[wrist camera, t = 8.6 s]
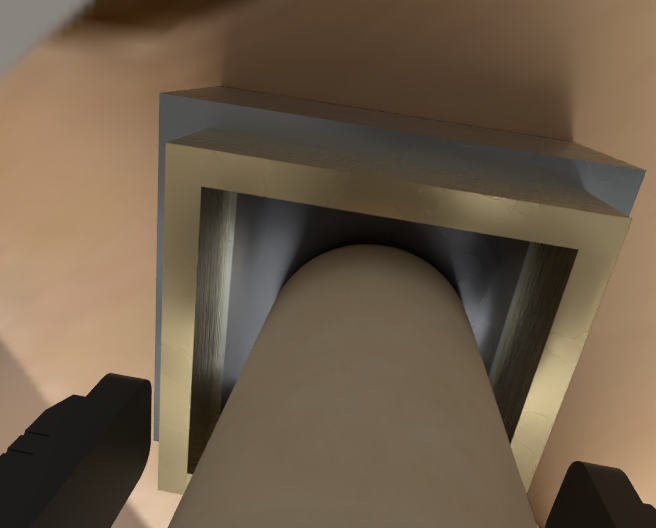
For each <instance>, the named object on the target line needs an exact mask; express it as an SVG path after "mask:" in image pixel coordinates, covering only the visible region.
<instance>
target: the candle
mask: <svg viewBox="0 0 656 528" xmlns="http://www.w3.org/2000/svg"><path fill="white" fill-rule="evenodd" d="M168 528H537V525H536V522H535V519H534V516H533V513H532V510H531V507H530V503H529V500H528V497H527V494H526V491H525V488H524V485H523V482H522V479H521V476H520V473H519V470H518V467H517V464H516V461H515V458H514V455H513V452H512V449H511V446H510V443H509V440H508V436H507V433H506V430H505V427H504V424H503V421H502V418H501V415H500V412H499V409H498V406H497V403H496V400H495V397H494V394H493V391H492V388H491V385H490V382H489V379H488V376H487V373H486V369H485V366H484V363H483V360H482V357H481V354H480V351H479V348H478V345H477V342H476V339H475V336H474V333H473V330H472V327H471V324H470V322H469V319H468V316H467V314H466V311H465V309H464V306H463V303H462V301H461V300H460V298H459V296H458V294H457V293H456V291H455V290H454V288H453V287H452V286H451V284H450V283H449V282H448V281H447V279H446V278H445V277H444V276H443V275H442V274H441V273H440V272H439V271H438V270H437V269H436V268H434V267H433V266H432V265H430V264H429V263H428V262H426V261H425V260H423V259H421V258H419V257H418V256H416V255H414V254H412V253H409V252H407V251H404V250H402V249H398V248H394V247H391V246H385V245H378V244H356V245H348V246H344V247H340V248H336V249H333V250H330V251H328V252H325V253H323V254H321V255H319V256H317V257H315V258H313V259H312V260H310V261H309V262H308V263H306V264H305V265H303V266H302V267H301V268H300V269H299V270H298V271H297V272H296V273H295V274H294V275H293V276H292V277H291V278H290V279H289V280H288V281H287V283H286V284H285V285H284V286H283V288H282V289H281V291H280V293H279V295H278V296H277V298H276V300H275V302H274V304H273V306H272V308H271V310H270V312H269V314H268V316H267V318H266V320H265V322H264V324H263V326H262V329H261V331H260V333H259V335H258V337H257V339H256V341H255V343H254V346H253V348H252V350H251V352H250V354H249V356H248V358H247V360H246V363H245V365H244V367H243V369H242V371H241V373H240V375H239V377H238V380H237V382H236V384H235V386H234V388H233V390H232V392H231V394H230V397H229V399H228V401H227V403H226V405H225V407H224V409H223V411H222V414H221V416H220V418H219V420H218V422H217V424H216V426H215V428H214V431H213V433H212V435H211V437H210V439H209V441H208V443H207V445H206V448H205V450H204V452H203V454H202V456H201V458H200V460H199V462H198V465H197V467H196V469H195V471H194V473H193V475H192V477H191V479H190V482H189V484H188V486H187V488H186V490H185V492H184V494H183V496H182V499H181V501H180V503H179V505H178V507H177V509H176V511H175V513H174V516H173V518H172V520H171V522H170V524H169V526H168Z"/></svg>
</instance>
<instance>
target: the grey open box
mask: <svg viewBox="0 0 656 528" xmlns="http://www.w3.org/2000/svg"><path fill="white" fill-rule="evenodd" d="M645 172H646V170H643V169H641V168H638V167H636V166H633V165H631V164H628V163H626V162H623V161H621V160H618V159H615V158H613V157H610V156H608V155H605V154H603V153H600V152H598V151H595V150H593V149H590V148H588V147H585V146H582V145H580V144H577V143H575V142H570V141H564V140H557V139H551V138H545V137H538V136H532V135H526V134H519V133H513V132H507V131H500V130H494V129H488V128H481V127H475V126H469V125H463V124H456V123H450V122H444V121H437V120H431V119H425V118H418V117H412V116H406V115H399V114H393V113H387V112H380V111H374V110H368V109H361V108H355V107H349V106H342V105H336V104H330V103H323V102H317V101H311V100H304V99H298V98H292V97H285V96H279V95H273V94H266V93H260V92H254V91H247V90H241V89H235V88H228V87H222V86H217V87H208V88H199V89H190V90H182V91H173V92H164V93H160V105H159V162H158V220H157V277H156V334H155V391H154V441H159V463H158V490H161V491H166V492H172V493H177V494H182V495H183V494H184V492H185V490H186V488H187V486H188V484H189V482H190V479H191V477H192V475H193V473H194V471H195V469H196V467H197V465H198V462H199V460H200V458H201V456H202V454H203V452H204V450H205V448H206V445H207V443H208V441H209V439H210V437H211V435H212V433H213V431H214V428H215V426H216V424H217V422H218V420H219V418H220V416H221V414H222V411H223V409H224V407H225V405H226V403H227V401H228V399H229V397H230V394H231V392H232V390H233V388H234V386H235V384H236V382H237V380H238V377H239V375H240V373H241V371H242V369H243V367H244V365H245V363H246V360H247V358H248V356H249V354H250V352H251V350H252V348H253V346H254V343H255V341H256V339H257V337H258V335H259V333H260V331H261V329H262V326H263V324H264V322H265V320H266V318H267V316H268V314H269V312H270V310H271V308H272V306H273V304H274V302H275V300H276V298H277V296H278V295H279V293H280V291H281V289H282V288H283V286H284V285H285V284H286V283H287V281H288V280H289V279H290V278H291V277H292V276H293V275H294V274H295V273H296V272H297V271H298V270H299V269H300V268H301V267H302V266H303V265H305V264H306V263H308V262H309V261H310V260H312V259H313V258H315V257H317V256H319V255H321V254H323V253H325V252H328V251H330V250H333V249H336V248H340V247H344V246H348V245H356V244H378V245H385V246H391V247H394V248H398V249H402V250H404V251H407V252H409V253H412V254H414V255H416V256H418V257H419V258H421V259H423V260H425V261H426V262H428V263H429V264H430V265H432V266H433V267H434V268H436V269H437V270H438V271H439V272H440V273H441V274H442V275H443V276H444V277H445V278H446V279H447V281H448V282H449V283H450V284H451V286H452V287H453V288H454V290H455V291H456V293H457V294H458V296H459V298H460V300H461V301H462V303H463V306H464V309H465V311H466V314H467V316H468V319H469V322H470V324H471V327H472V330H473V333H474V336H475V339H476V342H477V345H478V348H479V351H480V354H481V357H482V360H483V363H484V366H485V369H486V373H487V376H488V379H489V382H490V385H491V388H492V391H493V394H494V397H495V400H496V403H497V406H498V409H499V412H500V415H501V418H502V421H503V424H504V427H505V430H506V433H507V436H508V440H509V443H510V446H511V449H512V452H513V455H514V458H515V461H516V464H517V467H518V470H519V473H520V476H521V479H522V482H523V485H524V488H525V491H526V494H527V492H528V490H529V487H530V484H531V482H532V479H533V477H534V474H535V471H536V469H537V466H538V464H539V461H540V458H541V456H542V453H543V451H544V448H545V445H546V443H547V440H548V437H549V435H550V432H551V430H552V427H553V424H554V422H555V419H556V417H557V414H558V411H559V409H560V406H561V404H562V401H563V398H564V396H565V393H566V391H567V388H568V385H569V383H570V380H571V377H572V375H573V372H574V370H575V367H576V364H577V362H578V359H579V357H580V354H581V351H582V349H583V346H584V344H585V341H586V338H587V336H588V333H589V330H590V328H591V325H592V323H593V320H594V317H595V315H596V312H597V310H598V307H599V304H600V302H601V299H602V297H603V294H604V291H605V289H606V286H607V284H608V281H609V278H610V276H611V273H612V270H613V268H614V265H615V263H616V260H617V257H618V255H619V252H620V250H621V247H622V244H623V242H624V239H625V237H626V234H627V231H628V229H629V226H630V223H631V221H632V219H631V218H630V217H629V214H630V212H631V209H632V207H633V204H634V201H635V199H636V196H637V193H638V191H639V188H640V185H641V183H642V180H643V178H644V175H645Z"/></svg>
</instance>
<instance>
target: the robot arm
mask: <svg viewBox="0 0 656 528" xmlns="http://www.w3.org/2000/svg"><path fill="white" fill-rule="evenodd" d="M151 395H152V389H151V383H150V381H149V380H146V379H141V378H135V377H130V376H124V375H119V374H114V373H109V374H107V375H105V376H104V377H103V378H102V379H101V380H100V381H99V383H98V384H97V385H96V386H95V387H94V388H93V389H92V390H91V391H90V392H89V394H88V395H87V396H86V397H84V396H78V395H72V396H70V397H68V398H66V399H65V400H63V401H61V402H59V403H57V404H56V405H54V406H52V407H50V408H48V409H46V410H45V411H44V412H43V413H42V414H41V415H40V416H39V417H38V418H37V419H36V420H35V421H34V422H33V423H32V424H31V425H30V426H29V427H28V428H27V429H26V430H25V433H24V435H20V436H19V437H18V438H17V440H15V441H14V443H12V444H11V445H10V446H9V447H8V450H7V452H6V453H3V454H2V455H1V456H0V528H111V526H112V524H113V523H114V521H115V519H116V518H117V516H118V514H119V513H120V511H121V509H122V508H123V506H124V504H125V503H126V501H127V499H128V497H129V496H130V494H131V492H132V491H133V489H134V487H135V486H136V484H137V482H138V481H139V479H140V477H141V475H142V473H143V471H144V469H145V466H146V463H147V460H148V456H149V452H150V445H151ZM545 528H656V509H655V508H654V507H653V506H652V505H650V504H645V503H643V502H642V501H641V499H640V497H639V496H638V494H637V492H636V491H635V489H634V487H633V486H632V484H631V482H630V480H629V479H628V477H627V476H626V474H625V473H624V472H623V471H622V470H620V469H618V468H613V467H608V466H602V465H597V464H591V463H586V462H581V461H575V462H573V463H572V464H571V465H570V467H569V468H568V470H567V473H566V475H565V478H564V480H563V483H562V485H561V487H560V490H559V492H558V495H557V497H556V499H555V502H554V504H553V507H552V509H551V512H550V514H549V516H548V519H547V522H546V526H545Z"/></svg>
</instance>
